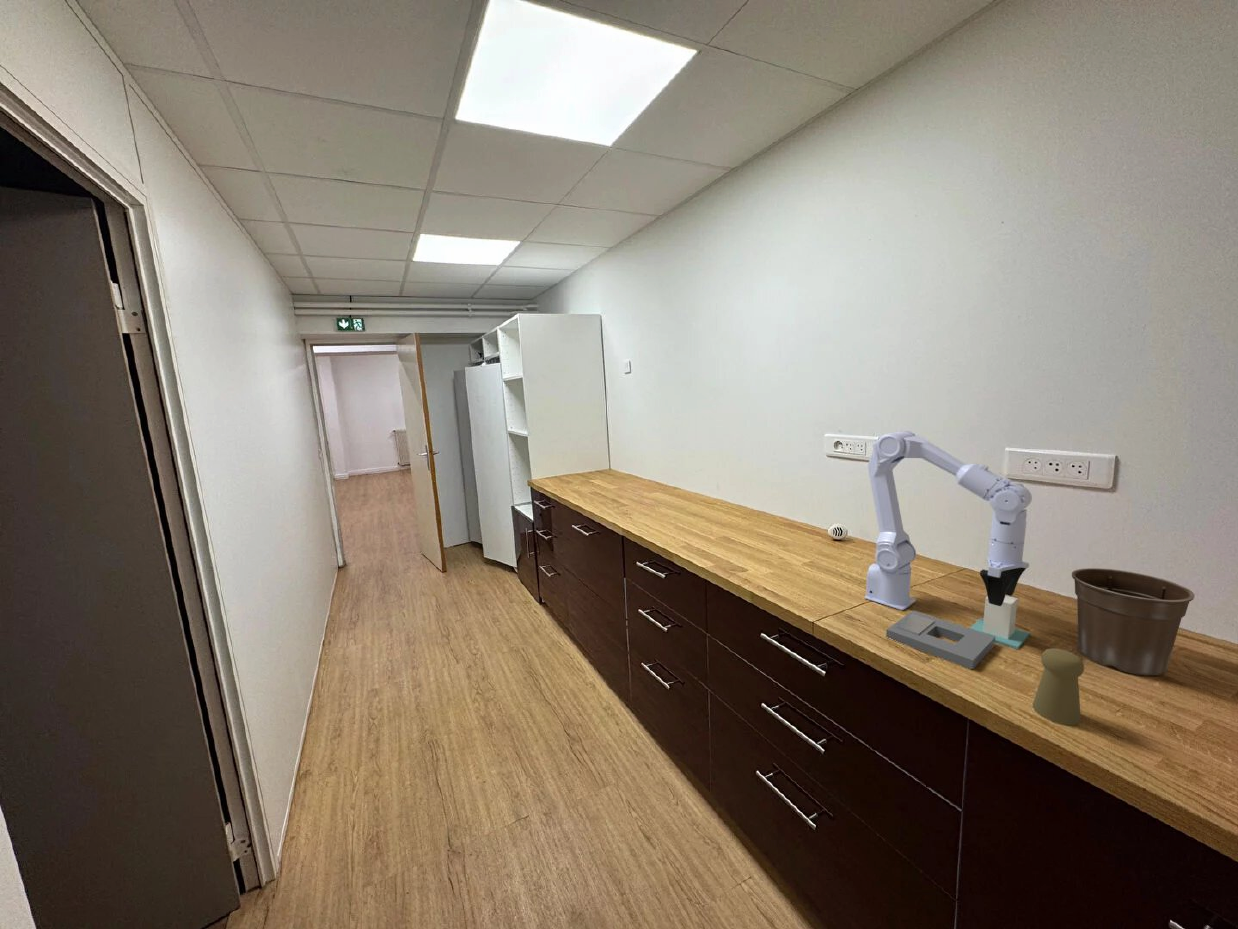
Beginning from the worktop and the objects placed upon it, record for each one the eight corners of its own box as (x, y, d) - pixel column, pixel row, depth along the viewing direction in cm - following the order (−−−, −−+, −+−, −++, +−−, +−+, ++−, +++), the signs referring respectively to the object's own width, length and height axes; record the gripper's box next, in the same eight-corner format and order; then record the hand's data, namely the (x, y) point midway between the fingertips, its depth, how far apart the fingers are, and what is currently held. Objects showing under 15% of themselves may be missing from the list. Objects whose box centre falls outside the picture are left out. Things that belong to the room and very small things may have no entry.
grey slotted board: (886, 638, 105) (886, 628, 104) (912, 618, 113) (913, 609, 113) (972, 670, 92) (973, 659, 92) (994, 645, 100) (995, 635, 100)
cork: (1086, 730, 75) (1094, 667, 74) (1036, 718, 78) (1043, 657, 77) (1075, 708, 80) (1082, 649, 79) (1029, 697, 84) (1035, 640, 82)
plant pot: (1042, 638, 102) (1050, 567, 100) (1118, 637, 102) (1128, 566, 99) (1118, 684, 86) (1129, 601, 84) (1209, 683, 86) (1224, 599, 83)
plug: (982, 631, 105) (985, 597, 104) (989, 624, 108) (992, 591, 107) (1007, 639, 102) (1011, 604, 100) (1014, 632, 104) (1017, 598, 103)
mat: (966, 632, 106) (966, 630, 106) (980, 620, 111) (980, 618, 111) (1017, 649, 99) (1017, 647, 98) (1029, 635, 104) (1029, 632, 104)
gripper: (1021, 552, 94) (1014, 616, 96) (1039, 537, 103) (1033, 595, 105) (978, 544, 100) (972, 604, 102) (999, 530, 108) (994, 586, 110)
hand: (1000, 599), depth 104 cm, fingers open, 7 cm apart
